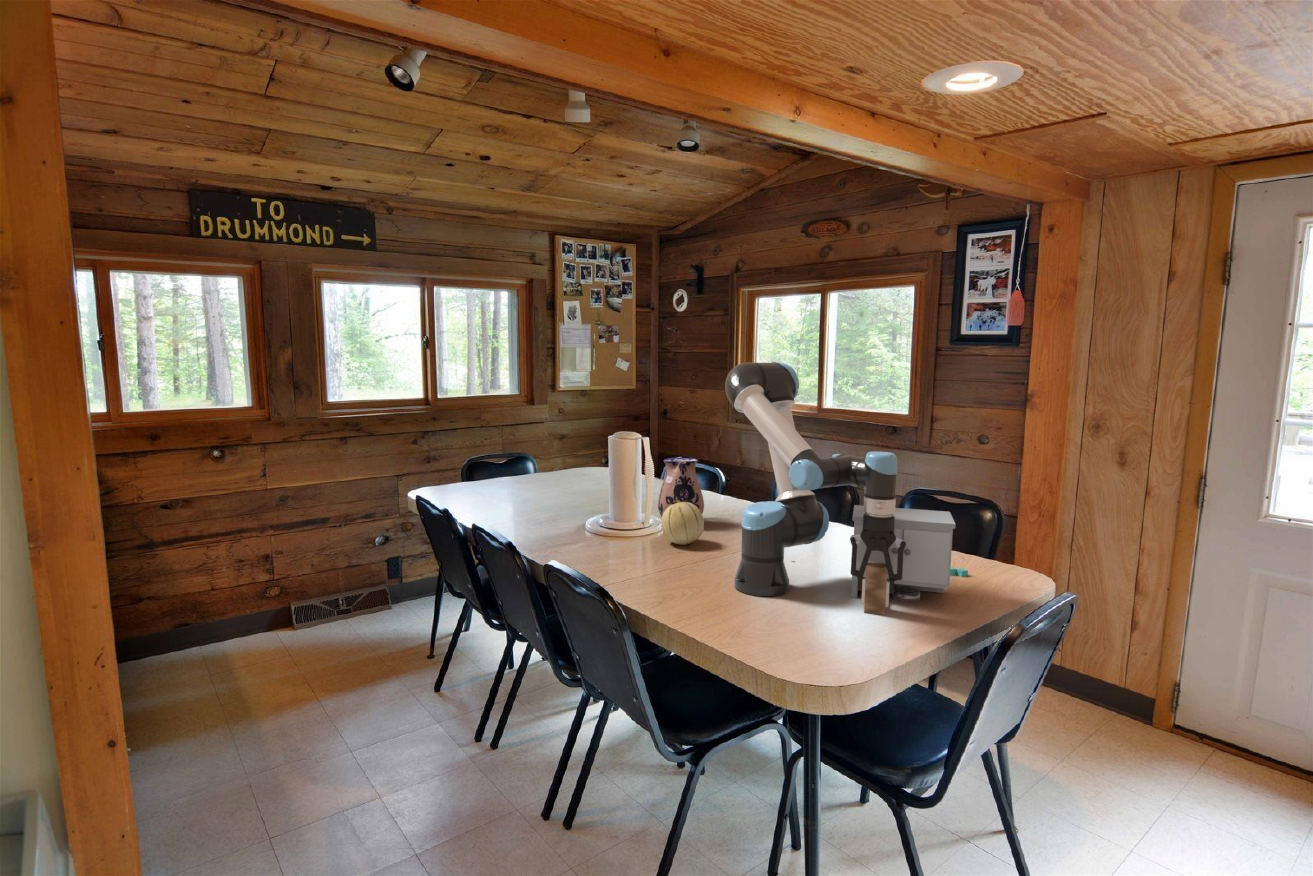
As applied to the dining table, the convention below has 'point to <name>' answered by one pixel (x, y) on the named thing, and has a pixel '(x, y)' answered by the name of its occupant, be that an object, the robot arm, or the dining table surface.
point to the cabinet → (914, 548)
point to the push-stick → (875, 588)
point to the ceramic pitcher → (680, 484)
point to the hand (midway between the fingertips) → (874, 603)
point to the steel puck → (906, 594)
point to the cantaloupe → (682, 523)
